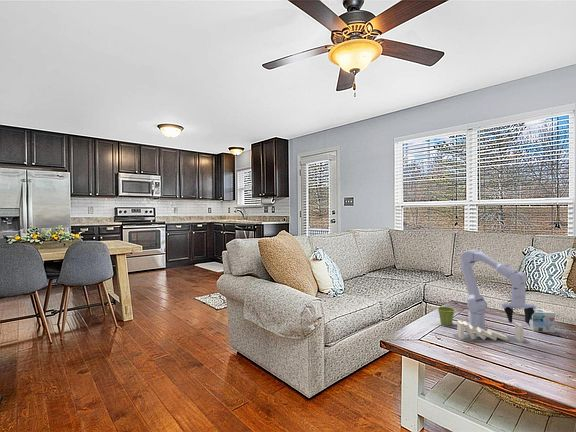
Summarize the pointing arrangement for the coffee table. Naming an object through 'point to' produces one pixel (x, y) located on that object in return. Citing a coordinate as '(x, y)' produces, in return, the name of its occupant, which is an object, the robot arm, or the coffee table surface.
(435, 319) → the coffee table surface
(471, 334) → the domino
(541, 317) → the light bulb box
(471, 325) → the domino
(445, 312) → the plant pot
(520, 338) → the domino
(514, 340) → the mat
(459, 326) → the domino
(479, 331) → the domino
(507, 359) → the coffee table surface
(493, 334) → the domino
